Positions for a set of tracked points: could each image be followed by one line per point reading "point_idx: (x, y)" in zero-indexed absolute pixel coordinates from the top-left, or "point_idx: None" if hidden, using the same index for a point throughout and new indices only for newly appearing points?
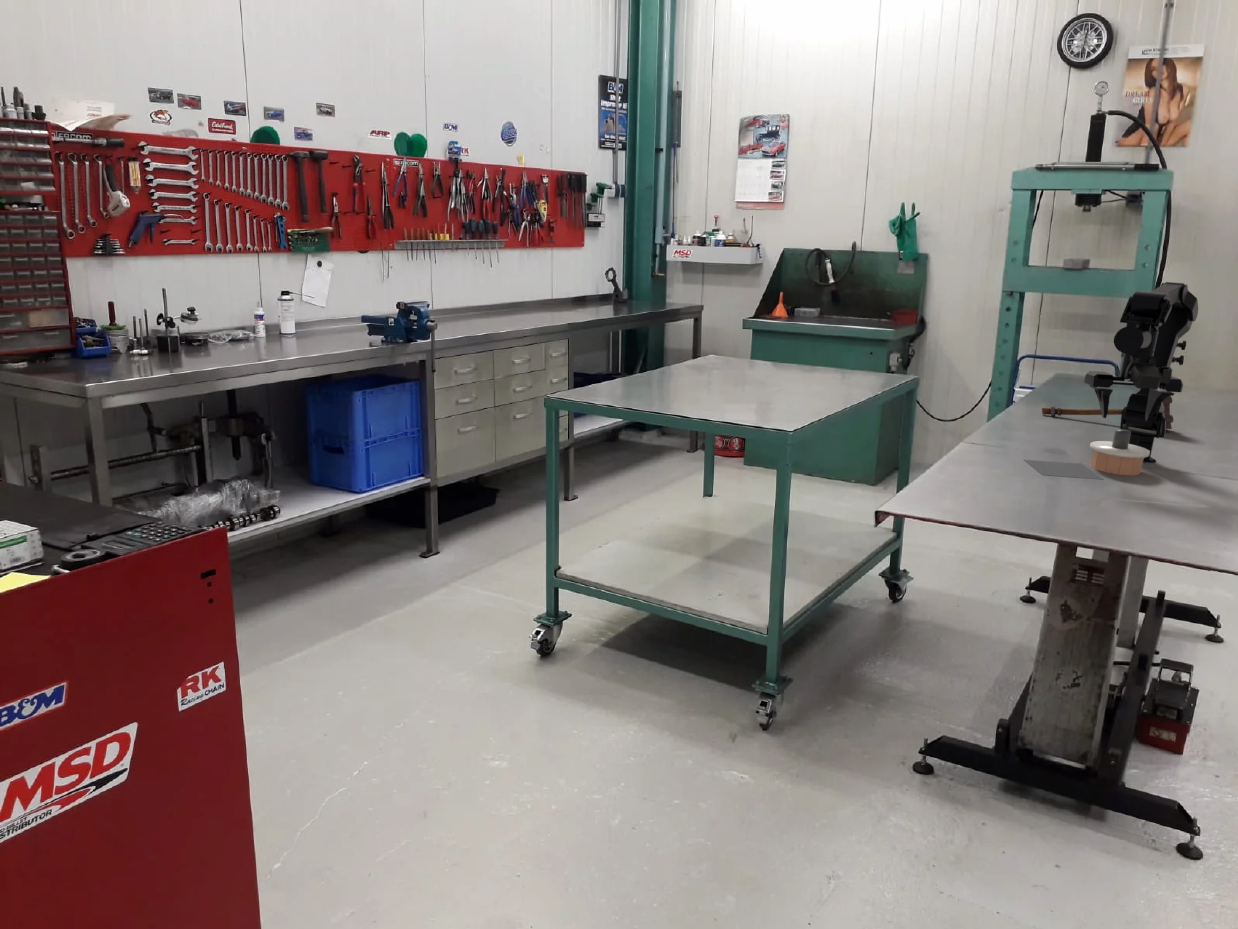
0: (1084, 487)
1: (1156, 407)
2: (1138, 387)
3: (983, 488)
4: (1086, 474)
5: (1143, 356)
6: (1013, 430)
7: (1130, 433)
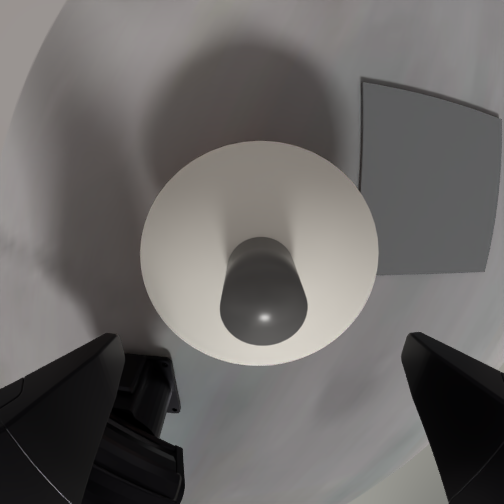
0: (433, 21)
1: (28, 379)
2: None
3: None
4: (397, 134)
5: None
6: (337, 490)
7: (229, 280)
